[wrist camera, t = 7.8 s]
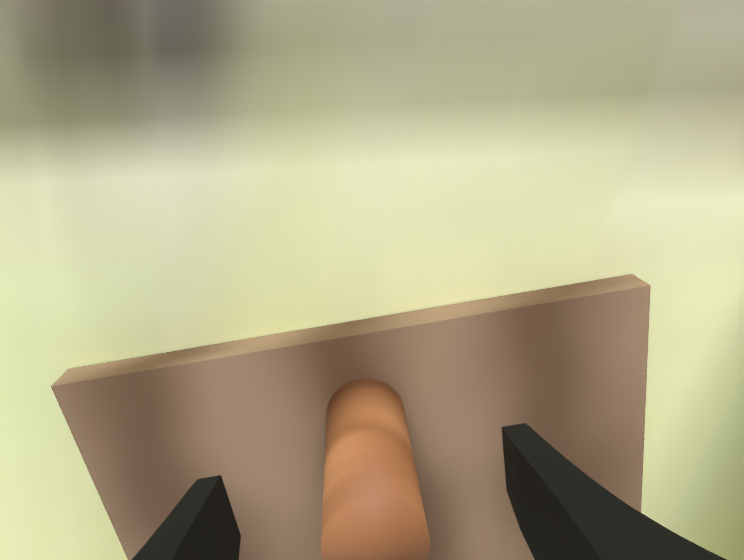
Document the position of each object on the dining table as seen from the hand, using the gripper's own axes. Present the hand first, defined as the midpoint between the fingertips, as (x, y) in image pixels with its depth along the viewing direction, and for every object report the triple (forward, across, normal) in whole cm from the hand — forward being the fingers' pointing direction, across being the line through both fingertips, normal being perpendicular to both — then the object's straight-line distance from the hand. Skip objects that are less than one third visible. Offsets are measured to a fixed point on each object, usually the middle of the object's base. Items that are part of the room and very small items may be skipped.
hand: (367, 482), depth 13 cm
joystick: (+3, 0, +6) cm, 7 cm away
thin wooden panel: (+4, 0, +16) cm, 16 cm away
